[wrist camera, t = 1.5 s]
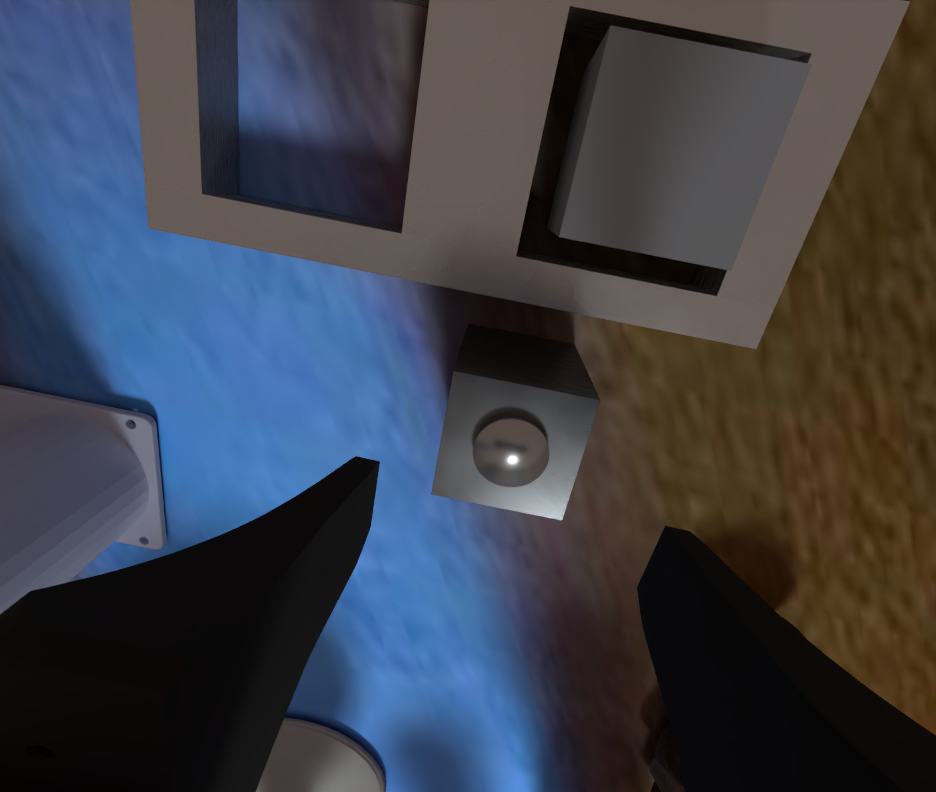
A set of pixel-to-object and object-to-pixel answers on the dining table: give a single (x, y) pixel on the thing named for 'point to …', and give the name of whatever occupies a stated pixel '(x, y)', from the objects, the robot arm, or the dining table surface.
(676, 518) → the dining table surface
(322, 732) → the chalice
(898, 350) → the dining table surface
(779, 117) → the slate block
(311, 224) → the tray
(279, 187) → the dining table surface
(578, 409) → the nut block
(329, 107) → the dining table surface
